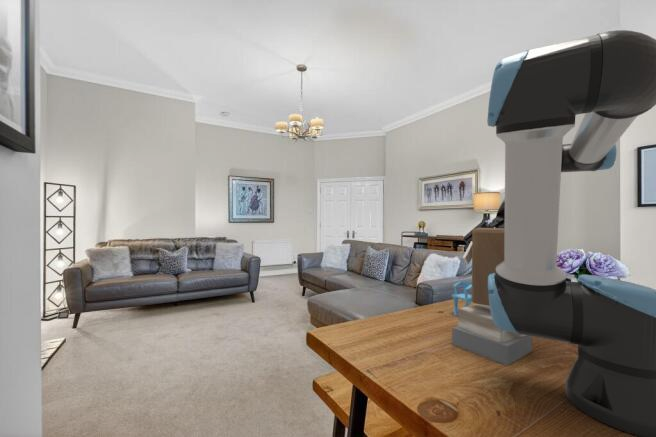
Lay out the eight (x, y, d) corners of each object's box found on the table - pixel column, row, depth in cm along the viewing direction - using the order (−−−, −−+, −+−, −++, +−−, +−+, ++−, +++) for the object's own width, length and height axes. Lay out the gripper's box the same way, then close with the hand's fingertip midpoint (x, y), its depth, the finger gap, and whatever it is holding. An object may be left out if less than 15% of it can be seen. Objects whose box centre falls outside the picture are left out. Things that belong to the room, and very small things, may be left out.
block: (516, 310, 71) (517, 229, 71) (471, 303, 76) (472, 228, 76) (514, 301, 80) (515, 228, 80) (474, 295, 85) (475, 227, 85)
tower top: (500, 343, 70) (500, 322, 70) (457, 326, 80) (457, 308, 80) (529, 334, 75) (529, 315, 75) (485, 320, 86) (485, 303, 86)
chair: (448, 313, 106) (448, 280, 106) (464, 310, 109) (465, 279, 109) (465, 320, 99) (466, 285, 99) (483, 317, 102) (483, 283, 102)
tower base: (507, 367, 68) (507, 346, 68) (452, 346, 79) (452, 327, 79) (531, 352, 76) (532, 333, 76) (478, 335, 87) (478, 318, 87)
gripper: (569, 218, 77) (548, 281, 68) (477, 217, 97) (451, 266, 88) (563, 197, 74) (540, 260, 65) (469, 201, 94) (441, 250, 85)
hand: (489, 264), depth 77 cm, fingers closed on block, 12 cm apart
